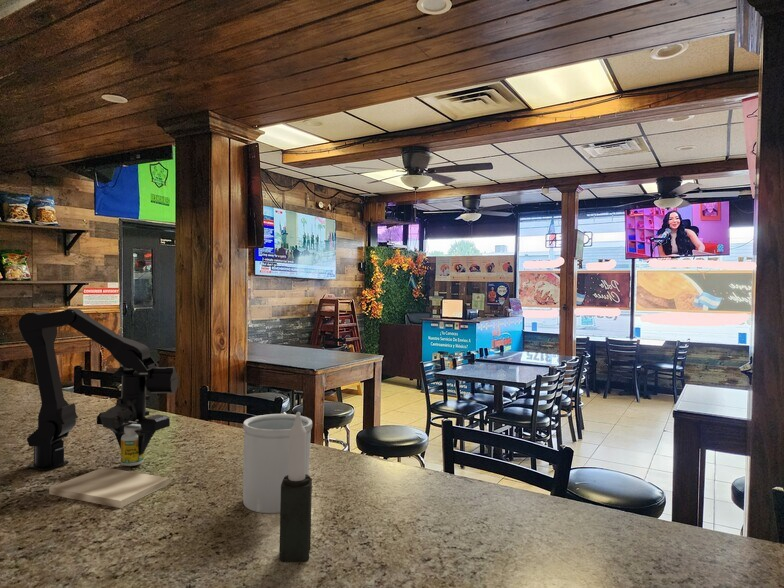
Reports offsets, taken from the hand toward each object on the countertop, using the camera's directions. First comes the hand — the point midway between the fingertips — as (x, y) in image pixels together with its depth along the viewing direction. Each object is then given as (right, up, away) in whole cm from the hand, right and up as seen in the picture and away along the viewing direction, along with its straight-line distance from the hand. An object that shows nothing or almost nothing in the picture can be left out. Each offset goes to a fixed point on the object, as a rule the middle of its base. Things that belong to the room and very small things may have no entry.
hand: (132, 453), depth 131 cm
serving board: (+3, -3, -16) cm, 16 cm away
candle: (+50, -5, -42) cm, 66 cm away
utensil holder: (+42, -4, -20) cm, 47 cm away
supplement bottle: (0, -3, 0) cm, 3 cm away
